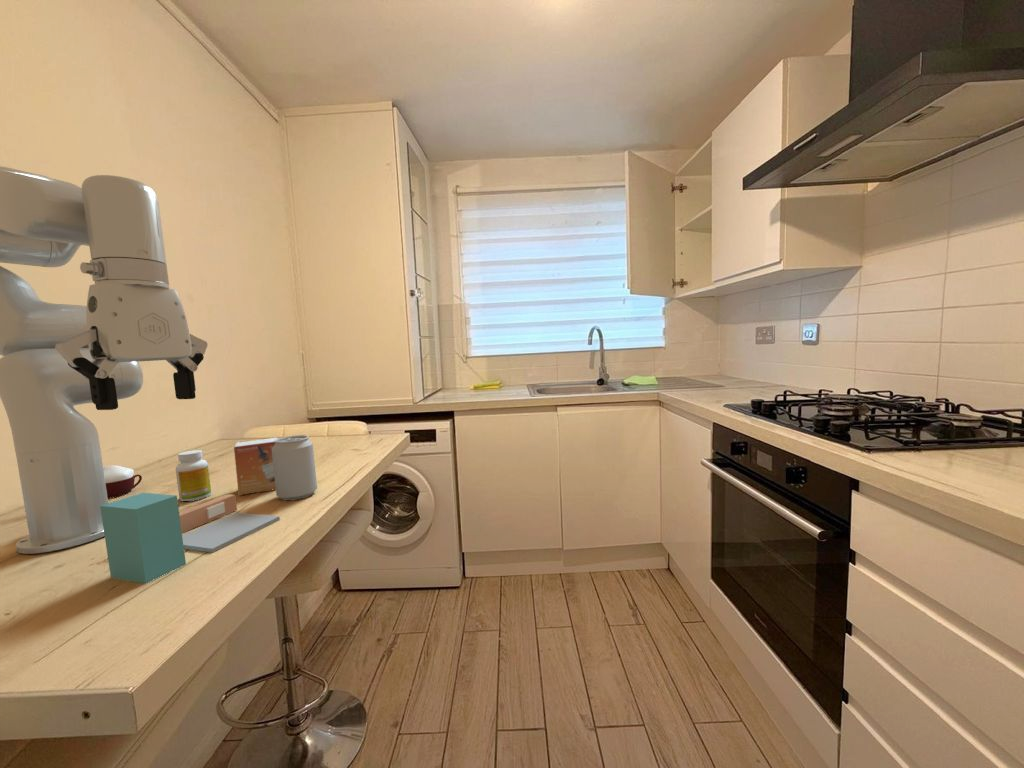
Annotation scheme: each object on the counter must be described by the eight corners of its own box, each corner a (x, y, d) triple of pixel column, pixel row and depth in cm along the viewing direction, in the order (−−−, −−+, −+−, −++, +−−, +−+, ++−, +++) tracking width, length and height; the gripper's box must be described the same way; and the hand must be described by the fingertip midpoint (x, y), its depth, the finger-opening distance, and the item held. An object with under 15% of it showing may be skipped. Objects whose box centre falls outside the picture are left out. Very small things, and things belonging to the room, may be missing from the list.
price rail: (131, 549, 66) (129, 530, 66) (229, 509, 81) (227, 494, 81) (141, 550, 65) (139, 531, 65) (238, 510, 80) (236, 494, 80)
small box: (238, 496, 88) (232, 446, 87) (241, 489, 93) (235, 442, 92) (282, 488, 92) (276, 440, 91) (282, 482, 97) (277, 436, 96)
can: (306, 501, 83) (300, 440, 82) (268, 503, 83) (262, 442, 82) (324, 488, 91) (318, 432, 90) (289, 490, 91) (283, 434, 90)
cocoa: (143, 488, 99) (139, 437, 99) (141, 494, 94) (137, 440, 94) (86, 497, 94) (81, 443, 93) (81, 504, 89) (76, 446, 88)
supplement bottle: (216, 495, 90) (210, 450, 89) (186, 504, 86) (180, 456, 85) (204, 491, 93) (199, 448, 92) (175, 500, 88) (169, 454, 88)
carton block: (110, 577, 57) (100, 505, 57) (153, 558, 62) (144, 492, 61) (146, 583, 55) (135, 509, 54) (187, 563, 60) (178, 494, 59)
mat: (166, 546, 66) (165, 542, 66) (237, 515, 78) (236, 512, 78) (212, 552, 63) (212, 548, 63) (279, 519, 74) (279, 516, 74)
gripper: (66, 263, 48) (88, 414, 49) (215, 282, 64) (228, 395, 66) (26, 271, 50) (49, 414, 52) (180, 287, 67) (193, 396, 68)
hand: (149, 403), depth 59 cm, fingers open, 9 cm apart
